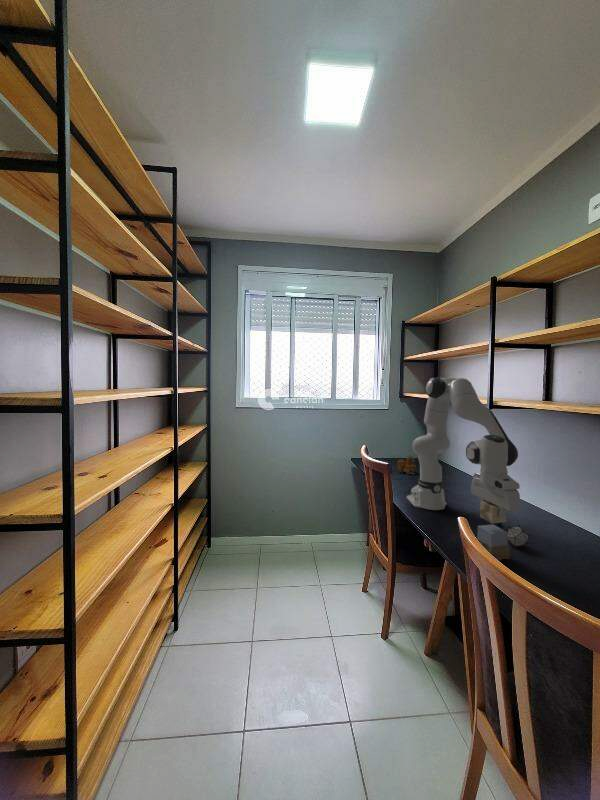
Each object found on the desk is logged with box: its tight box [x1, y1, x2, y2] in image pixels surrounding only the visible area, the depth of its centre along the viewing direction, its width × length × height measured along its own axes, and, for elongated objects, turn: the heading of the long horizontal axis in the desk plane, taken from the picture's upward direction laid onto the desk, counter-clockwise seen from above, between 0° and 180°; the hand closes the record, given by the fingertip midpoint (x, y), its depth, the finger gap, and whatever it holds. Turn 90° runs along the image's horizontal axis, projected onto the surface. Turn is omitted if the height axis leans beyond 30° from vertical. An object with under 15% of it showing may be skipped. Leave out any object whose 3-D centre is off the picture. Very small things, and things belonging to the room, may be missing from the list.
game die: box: [505, 524, 532, 549], centre depth 127 cm, size 9×8×10 cm
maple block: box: [479, 501, 507, 523], centre depth 120 cm, size 6×6×6 cm
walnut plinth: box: [476, 537, 511, 561], centre depth 120 cm, size 8×8×5 cm
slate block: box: [477, 524, 509, 547], centre depth 120 cm, size 7×7×5 cm
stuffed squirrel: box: [396, 455, 417, 475], centre depth 236 cm, size 10×14×13 cm
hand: (492, 514), depth 120 cm, fingers closed on maple block, 6 cm apart
